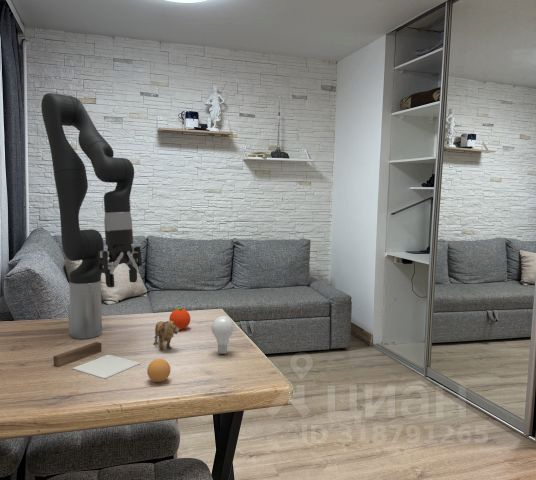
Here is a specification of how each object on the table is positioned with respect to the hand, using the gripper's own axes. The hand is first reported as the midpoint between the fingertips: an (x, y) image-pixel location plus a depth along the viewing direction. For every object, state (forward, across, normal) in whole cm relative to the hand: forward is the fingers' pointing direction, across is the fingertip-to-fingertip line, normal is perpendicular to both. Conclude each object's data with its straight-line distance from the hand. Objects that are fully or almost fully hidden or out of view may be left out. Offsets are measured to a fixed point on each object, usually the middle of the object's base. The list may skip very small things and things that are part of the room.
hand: (122, 284), depth 136 cm
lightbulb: (+21, -12, +26) cm, 35 cm away
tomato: (+19, -24, 0) cm, 31 cm away
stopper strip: (+18, +12, -5) cm, 23 cm away
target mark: (+19, +12, +6) cm, 23 cm away
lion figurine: (+20, -8, +8) cm, 23 cm away
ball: (+18, +12, +24) cm, 32 cm away
